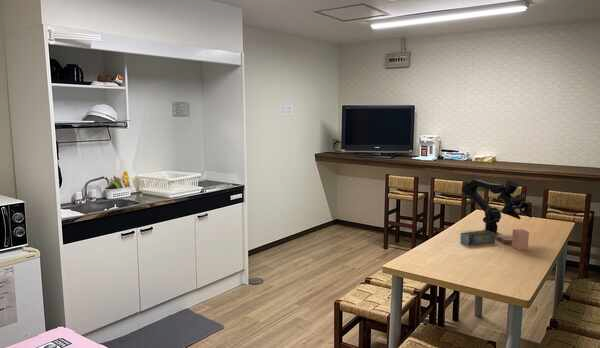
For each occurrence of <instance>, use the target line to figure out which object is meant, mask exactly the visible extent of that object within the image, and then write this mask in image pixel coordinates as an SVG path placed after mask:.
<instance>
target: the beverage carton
mask: <svg viewBox="0 0 600 348" xmlns="http://www.w3.org/2000/svg"><path fill="white" fill-rule="evenodd" d="M495 240H496V233H494V232H491V231H488V230H485V229H483V230H475V231H469V232H461V233H460V240H459V241H460V243H461V244H464V245H466V246H478V245H484V244H485V245H486V244H493V243H495V242H496V241H495Z"/></svg>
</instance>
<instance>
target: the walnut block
mask: <svg viewBox="0 0 600 348" xmlns="http://www.w3.org/2000/svg"><path fill="white" fill-rule="evenodd" d="M512 235H513V234H498V235H497V234H495V240H496V241H498V242H499V243H502V244H503V245H512Z"/></svg>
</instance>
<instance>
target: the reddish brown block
mask: <svg viewBox="0 0 600 348" xmlns="http://www.w3.org/2000/svg"><path fill="white" fill-rule="evenodd" d="M511 235H512V244H511V247H512V248H513V249H515V250H519V251H521V250H522V251H523V250H529V239H530V232H529V231H528V230H525V229H523V228H522V229H519V228H518V229H512V234H511Z"/></svg>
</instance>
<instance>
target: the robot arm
mask: <svg viewBox="0 0 600 348" xmlns="http://www.w3.org/2000/svg"><path fill="white" fill-rule="evenodd" d="M519 187H520V185H519V184H518V183H517V182H516V181H513V180H512V179H510V180H509V179H508V180H507V182H506V184H503V183H492V182H488V181H484V180H481V179H478V178H477V179H472V180H471V181H470V182H468V183H466V184H464V185H463V186H462V188H461V191H462V193H463V194H464V195H466V196H467V197H469V198H471V200H473V201H474V202H475V203H476V204H477V206H478V207H479V208H480V209H481V210H482V211H483V212H484V217H483V218H482V220H483V223H485V226H484V230H488V231H491V232H494V233H495V234H497V232H498V224H497V223H499V222H500V220H501V218H502V214H503V215H506V216H509V217H512V218H515V219H518V220H521V216H520V215H519V214H518V212H517V211H518V210H519V211H520V212H521V213H522V214H524V215H525V216H527V217H529V218H530V219H531V218H533V215H532V212H531V210H530V208H531V206H532V203H531V202H529V201H527V202H524V201H525V200H526V199H527V196H526V195H525V194H524V193H521V194H517V195H515V196H512V195H514V194H515V193H516V191H517V189H519ZM478 188H481V189H484V190H485V189H486V190H488V191H490V192H491V193H492V194H494V195H497V200H498V201H500V200H502V202H503V203H504V206H503V208H502V209H501V211H500V209H498V208H497V207H495V206H494V207H491V205H490V204H489V203H487V201H486V200H485V199H484V198H483V197H482V196H481V195H480V194H479V193H478ZM522 201H523V202H522ZM516 210H517V211H516Z"/></svg>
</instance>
